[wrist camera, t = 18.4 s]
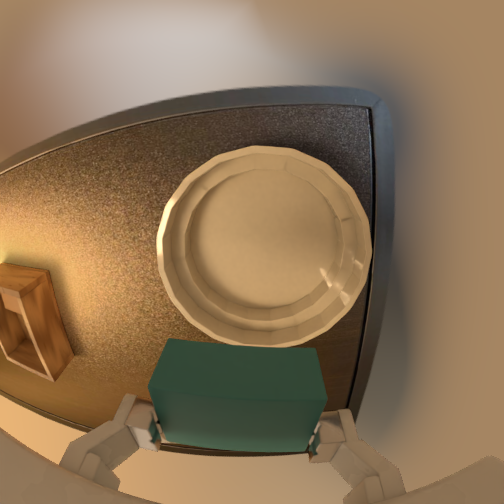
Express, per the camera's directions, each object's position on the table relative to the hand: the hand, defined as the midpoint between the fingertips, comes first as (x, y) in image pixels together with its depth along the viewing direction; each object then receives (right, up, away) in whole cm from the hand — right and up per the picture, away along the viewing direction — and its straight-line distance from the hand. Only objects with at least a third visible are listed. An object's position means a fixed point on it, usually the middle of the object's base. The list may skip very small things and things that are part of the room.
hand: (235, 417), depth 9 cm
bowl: (+2, +7, +13) cm, 15 cm away
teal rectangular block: (0, +1, +2) cm, 2 cm away
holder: (-28, -1, +17) cm, 33 cm away
